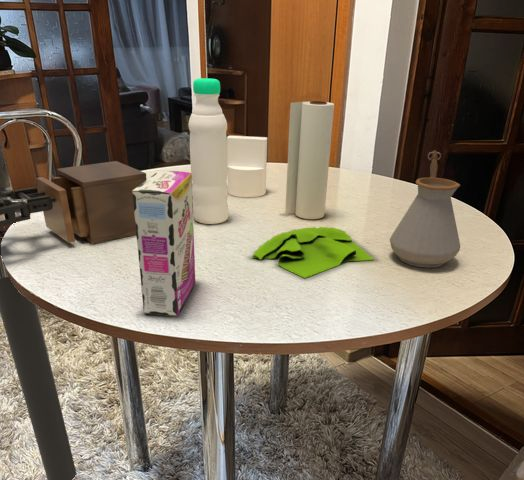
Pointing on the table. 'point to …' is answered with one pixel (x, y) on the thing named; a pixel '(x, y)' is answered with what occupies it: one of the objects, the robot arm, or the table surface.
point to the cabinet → (107, 198)
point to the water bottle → (208, 154)
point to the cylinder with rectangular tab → (246, 165)
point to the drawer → (63, 207)
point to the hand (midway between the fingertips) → (44, 198)
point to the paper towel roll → (308, 158)
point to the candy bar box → (165, 241)
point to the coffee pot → (428, 223)
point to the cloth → (311, 250)
